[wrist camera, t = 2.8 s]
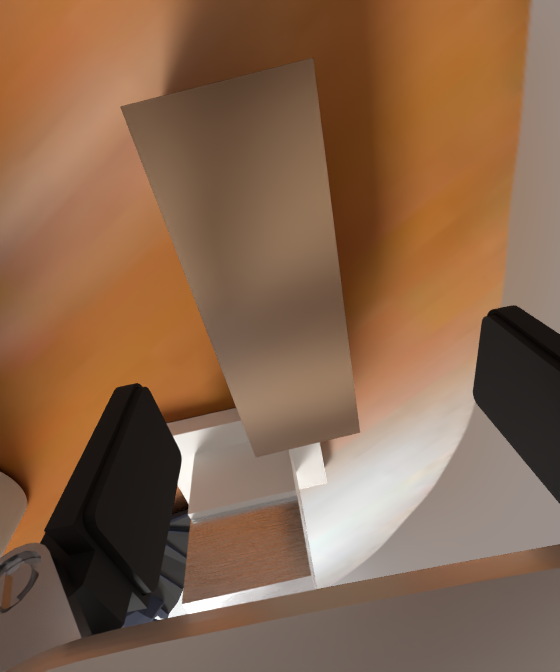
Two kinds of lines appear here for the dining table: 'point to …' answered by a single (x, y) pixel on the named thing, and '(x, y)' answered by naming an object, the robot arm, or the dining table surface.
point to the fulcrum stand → (243, 514)
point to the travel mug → (10, 509)
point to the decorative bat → (167, 574)
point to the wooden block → (257, 245)
